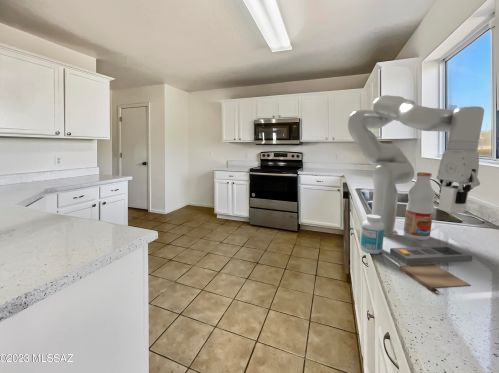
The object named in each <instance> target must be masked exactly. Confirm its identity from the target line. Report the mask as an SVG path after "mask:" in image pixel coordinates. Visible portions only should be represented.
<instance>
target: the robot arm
mask: <svg viewBox="0 0 499 373" xmlns="http://www.w3.org/2000/svg"><path fill="white" fill-rule="evenodd" d="M484 116H485V109H484V108H483V107H482V106H477V105H476V106H472V105H471V106H461V107H456V108H455V109H452V108H451V109H450V108H449V109H448V108H438V107H436V108H435V107H428V106H423V105H418V104H416V102H415V101H414V100H412V99H407V98H404V97H403V96H398V95H389V94H387V95H381V96H379V97H377V98H375V99H374V101H373V103H372V109H358V110H355V111H353V112H352V113H350V115H349V116H348V118H347V119H348V120H347V128H348V130H347V131H348V132H349V135H350V136H351V138H352V139H353V141H354V142H355V144H356V145H357V146H358V148H359V149H360V151H361V153H362V155H363V156H364V159H365V160H366V161H367V162H368V163H369V164H370V165H372V166H373V165H374V166H375V167H374V168H373V170H372V181H373V193H372V194H373V195H372V205H371V214H370V215H378V216H381V221H380V222H381V223H383V224H384V237H393V236H398V235H399V232H398V231H397V230H396V229H395V225H396V218H397V207H398V198H399V192H398V189H397V185H402V184H408V183H410V182H412V181H413V179H414V177H415V168H414V166H413V164H412V163H411V162H410V160H409V159H408V157H407V156H406V154H405V153H404V152H403V151H402V149H401V148H400V147H398V146H397V145H395V144H392V143H391V144H390V143H383V142H381V141H380V140H379V139H378V138H377V136H376V135H375V133H374V132H373V131H372V130H370V129H374V130H375V129H381V128H383V127H385V126H387V125H388V124H390V123H391V122H393V121H396V122H400V123H401V124H402V125H404V126H407V127H409V128H413V129H417V130H420V131H422V132H424V131H425V132H441V133H442V132H443V133H444V132H446V133H447V132H449V133H448V134H449V135H448V139H447V140H448V141H447V143H446V145H445V146H446V150H444V151H443V154H442V156H441V159H440V162H439V167H438V171H437V175H436V179H437V180H438V181H439V184H440V185H441V186H440V187H441V188H442V186H452V185H453V184H454V183H457V184H458V186H459V192H457V195H456V201H455V203H456V204H465V203H466V197H467V192H471V190H473V189H474V188H477V187H479V186H480V185H481V182H480V180H479V178H478V176H479V168H480V167H479V166H480V153H479V152H480V151H478V148H479V143H480V136H481V132H482V127H483V126H482V125H483V122H484Z"/></svg>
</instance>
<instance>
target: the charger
mask: <svg viewBox="0 0 499 373" xmlns="http://www.w3.org/2000/svg"><path fill="white" fill-rule="evenodd" d="M457 192H459V185H453V184H452V186H442V187H441V189H440V195H439V202H438V208H437V209H438V210H441V211H443V212H446V213H449V214H455V213H458V214H459V213H466V208H467V203H468V199H469V198H468V197H469V192H467V197H466V203H465V204H456V203H455V201H456V195H457Z"/></svg>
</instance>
